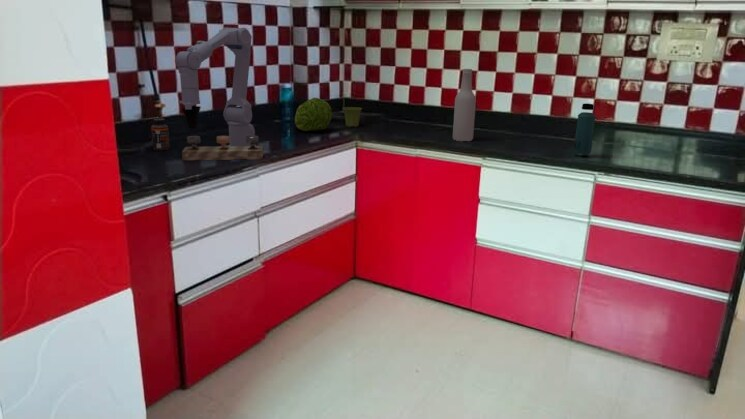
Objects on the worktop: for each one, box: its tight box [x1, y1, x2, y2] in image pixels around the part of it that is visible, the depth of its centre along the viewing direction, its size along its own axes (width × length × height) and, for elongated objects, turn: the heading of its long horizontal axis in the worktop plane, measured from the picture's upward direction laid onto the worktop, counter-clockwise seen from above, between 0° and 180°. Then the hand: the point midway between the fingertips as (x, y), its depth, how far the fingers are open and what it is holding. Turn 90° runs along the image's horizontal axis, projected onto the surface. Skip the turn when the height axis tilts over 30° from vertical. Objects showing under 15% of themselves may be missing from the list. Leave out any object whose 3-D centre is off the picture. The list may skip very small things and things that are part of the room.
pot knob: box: [216, 135, 230, 148], centre depth 198 cm, size 4×4×4 cm
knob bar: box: [181, 145, 264, 161], centre depth 199 cm, size 27×9×3 cm, turn 100°
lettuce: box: [294, 97, 333, 132], centre depth 258 cm, size 15×25×16 cm
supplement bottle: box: [150, 118, 171, 151], centre depth 208 cm, size 6×6×11 cm
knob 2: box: [246, 135, 260, 148], centre depth 199 cm, size 4×4×4 cm
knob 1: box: [186, 135, 201, 149], centre depth 196 cm, size 4×4×4 cm
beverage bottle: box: [572, 102, 596, 155], centre depth 212 cm, size 6×7×20 cm
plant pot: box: [342, 106, 363, 128], centre depth 274 cm, size 9×9×9 cm
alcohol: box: [452, 68, 477, 142], centre depth 240 cm, size 9×9×30 cm
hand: (192, 128), depth 194 cm, fingers closed
